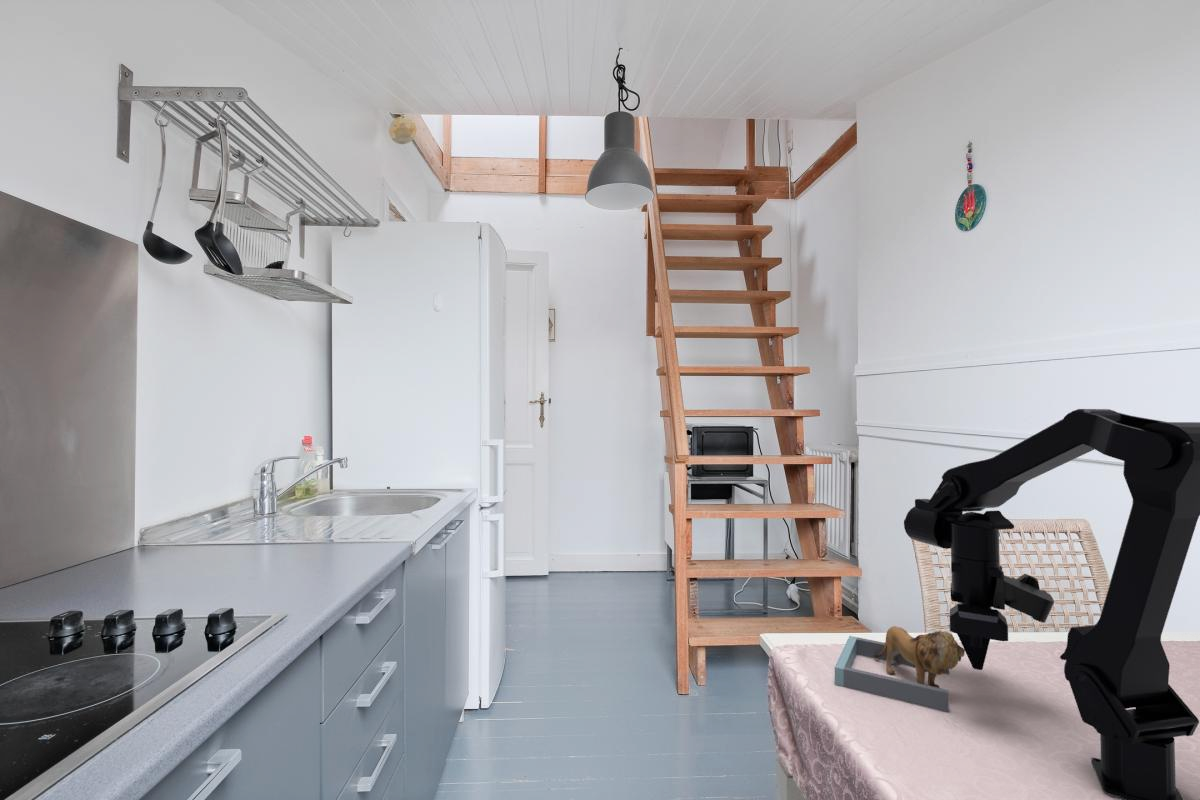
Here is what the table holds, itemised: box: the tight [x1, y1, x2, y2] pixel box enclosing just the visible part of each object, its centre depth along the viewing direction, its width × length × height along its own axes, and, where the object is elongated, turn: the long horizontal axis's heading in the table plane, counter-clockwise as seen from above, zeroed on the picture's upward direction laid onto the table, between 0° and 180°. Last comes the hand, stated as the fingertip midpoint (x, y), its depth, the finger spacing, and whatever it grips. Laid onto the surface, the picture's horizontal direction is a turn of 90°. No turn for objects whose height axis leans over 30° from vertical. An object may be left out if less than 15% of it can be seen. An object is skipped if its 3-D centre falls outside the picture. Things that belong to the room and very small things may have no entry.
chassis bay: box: [834, 635, 950, 713], centre depth 84 cm, size 14×14×2 cm
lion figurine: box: [873, 625, 965, 688], centre depth 83 cm, size 15×5×9 cm, turn 20°
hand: (977, 668), depth 78 cm, fingers closed
